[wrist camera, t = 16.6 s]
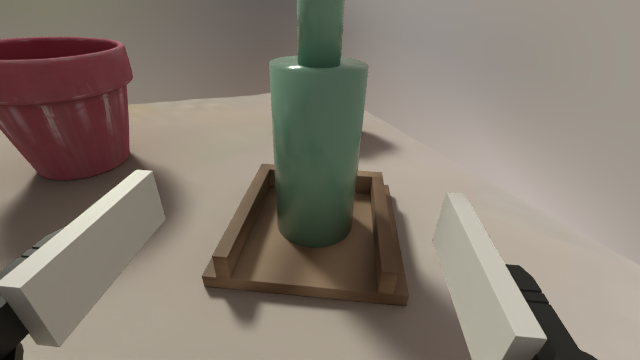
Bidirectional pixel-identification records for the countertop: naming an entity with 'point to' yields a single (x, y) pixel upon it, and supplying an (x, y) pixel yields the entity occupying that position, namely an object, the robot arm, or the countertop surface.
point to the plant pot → (66, 103)
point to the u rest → (312, 249)
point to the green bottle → (317, 128)
